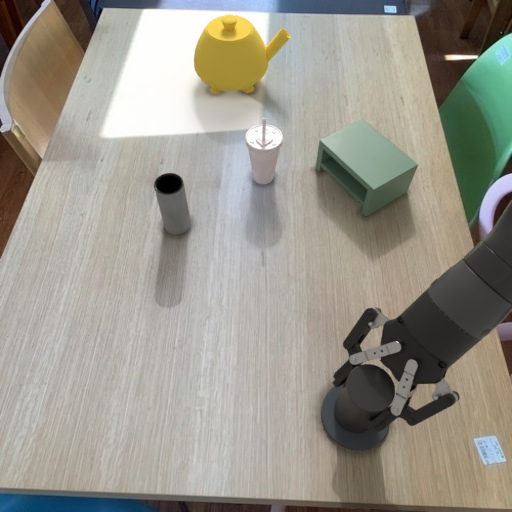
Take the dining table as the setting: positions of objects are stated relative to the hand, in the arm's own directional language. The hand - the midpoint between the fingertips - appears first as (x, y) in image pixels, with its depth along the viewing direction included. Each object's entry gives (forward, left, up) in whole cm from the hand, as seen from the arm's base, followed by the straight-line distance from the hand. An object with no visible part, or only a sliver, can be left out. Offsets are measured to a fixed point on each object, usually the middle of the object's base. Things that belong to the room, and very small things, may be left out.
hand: (353, 404), depth 57 cm
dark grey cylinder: (0, -2, -6) cm, 6 cm away
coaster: (-1, -1, -7) cm, 7 cm away
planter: (+40, -8, -7) cm, 42 cm away
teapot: (+58, -45, -7) cm, 74 cm away
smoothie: (+36, -26, -7) cm, 46 cm away
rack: (+22, -37, -7) cm, 44 cm away
